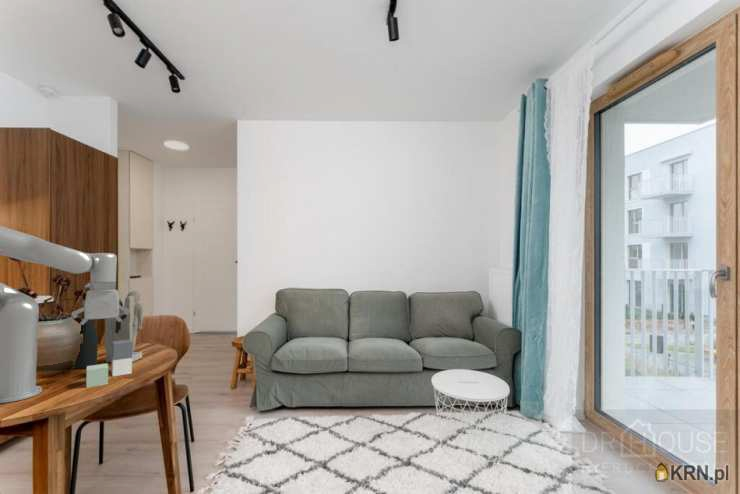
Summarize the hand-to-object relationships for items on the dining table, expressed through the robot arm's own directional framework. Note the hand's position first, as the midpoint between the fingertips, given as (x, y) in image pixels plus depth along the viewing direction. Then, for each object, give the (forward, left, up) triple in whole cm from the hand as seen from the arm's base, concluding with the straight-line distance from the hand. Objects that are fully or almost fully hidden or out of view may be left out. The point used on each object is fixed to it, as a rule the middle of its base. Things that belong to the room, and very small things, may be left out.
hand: (100, 334), depth 132 cm
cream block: (+7, +7, -17) cm, 20 cm away
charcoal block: (+7, +7, -11) cm, 15 cm away
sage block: (-1, -2, -17) cm, 17 cm away
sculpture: (+10, +26, -17) cm, 33 cm away
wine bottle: (-4, +25, -17) cm, 31 cm away
